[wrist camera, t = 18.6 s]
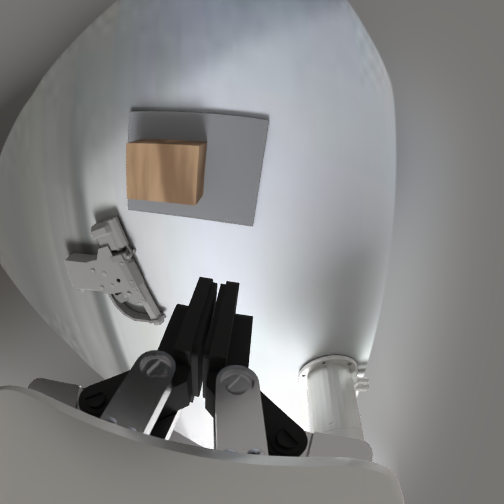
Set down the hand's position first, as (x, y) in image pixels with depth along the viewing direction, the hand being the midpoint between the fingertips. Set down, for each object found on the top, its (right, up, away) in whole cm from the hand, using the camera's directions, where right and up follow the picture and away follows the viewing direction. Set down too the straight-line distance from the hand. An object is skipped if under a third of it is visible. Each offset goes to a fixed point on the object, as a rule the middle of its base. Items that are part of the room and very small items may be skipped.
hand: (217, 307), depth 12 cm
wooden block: (-4, +12, +20) cm, 23 cm away
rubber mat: (-6, +13, +22) cm, 26 cm away
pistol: (-23, -2, +32) cm, 40 cm away
